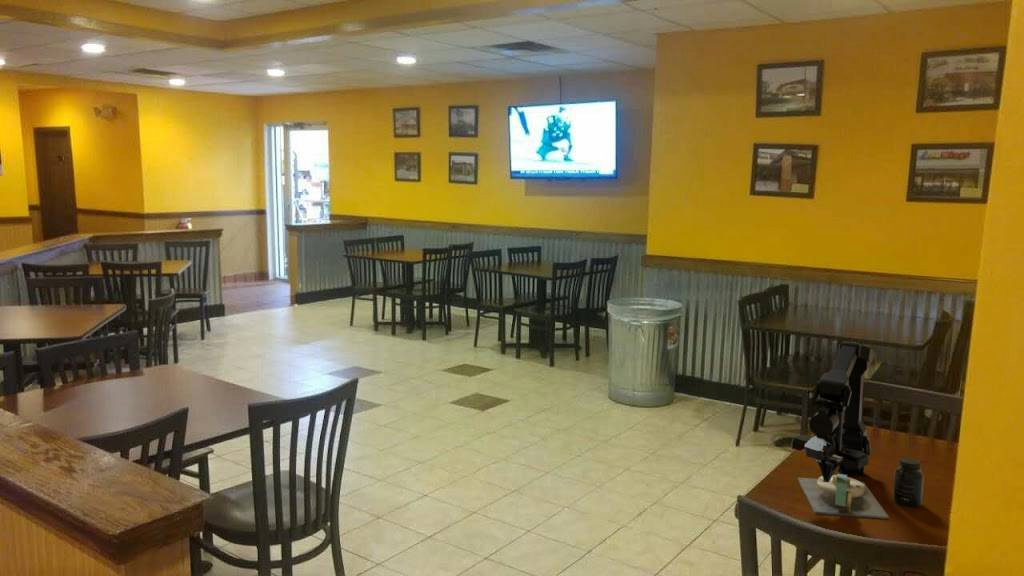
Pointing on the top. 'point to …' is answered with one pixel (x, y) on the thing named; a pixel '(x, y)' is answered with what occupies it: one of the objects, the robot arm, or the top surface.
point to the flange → (841, 487)
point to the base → (826, 505)
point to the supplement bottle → (908, 483)
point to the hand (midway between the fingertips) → (826, 481)
